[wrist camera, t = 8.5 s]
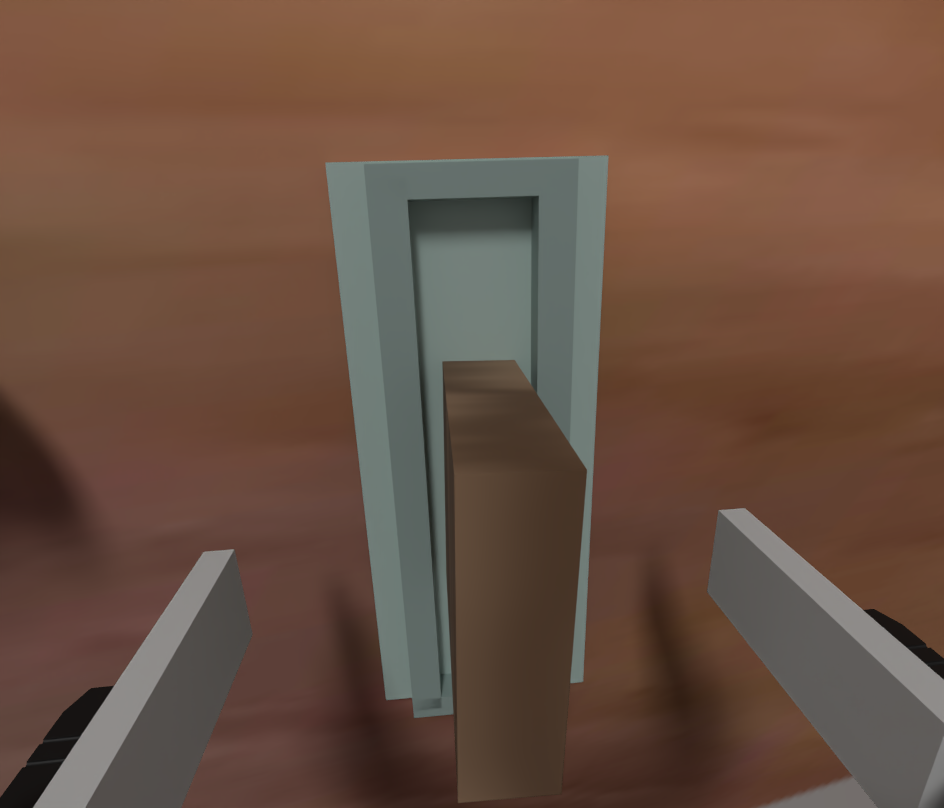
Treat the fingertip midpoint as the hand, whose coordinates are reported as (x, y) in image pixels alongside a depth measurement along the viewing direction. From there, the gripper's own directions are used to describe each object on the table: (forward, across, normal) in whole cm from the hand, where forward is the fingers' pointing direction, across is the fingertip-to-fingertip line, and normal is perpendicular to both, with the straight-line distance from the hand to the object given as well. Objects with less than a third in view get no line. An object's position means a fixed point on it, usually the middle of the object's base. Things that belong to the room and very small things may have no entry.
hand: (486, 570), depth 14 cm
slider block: (+6, 0, 0) cm, 6 cm away
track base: (+7, 0, 0) cm, 7 cm away
